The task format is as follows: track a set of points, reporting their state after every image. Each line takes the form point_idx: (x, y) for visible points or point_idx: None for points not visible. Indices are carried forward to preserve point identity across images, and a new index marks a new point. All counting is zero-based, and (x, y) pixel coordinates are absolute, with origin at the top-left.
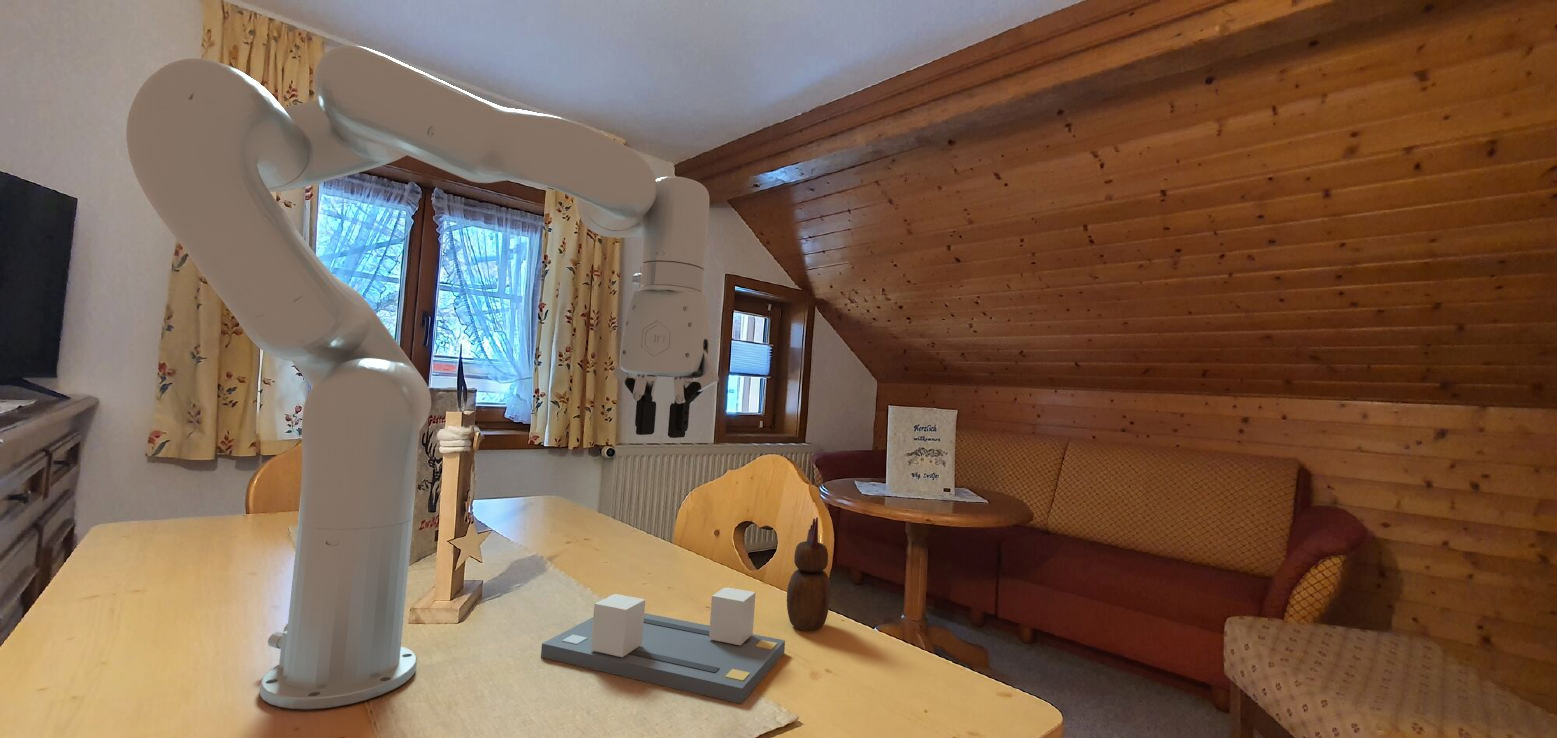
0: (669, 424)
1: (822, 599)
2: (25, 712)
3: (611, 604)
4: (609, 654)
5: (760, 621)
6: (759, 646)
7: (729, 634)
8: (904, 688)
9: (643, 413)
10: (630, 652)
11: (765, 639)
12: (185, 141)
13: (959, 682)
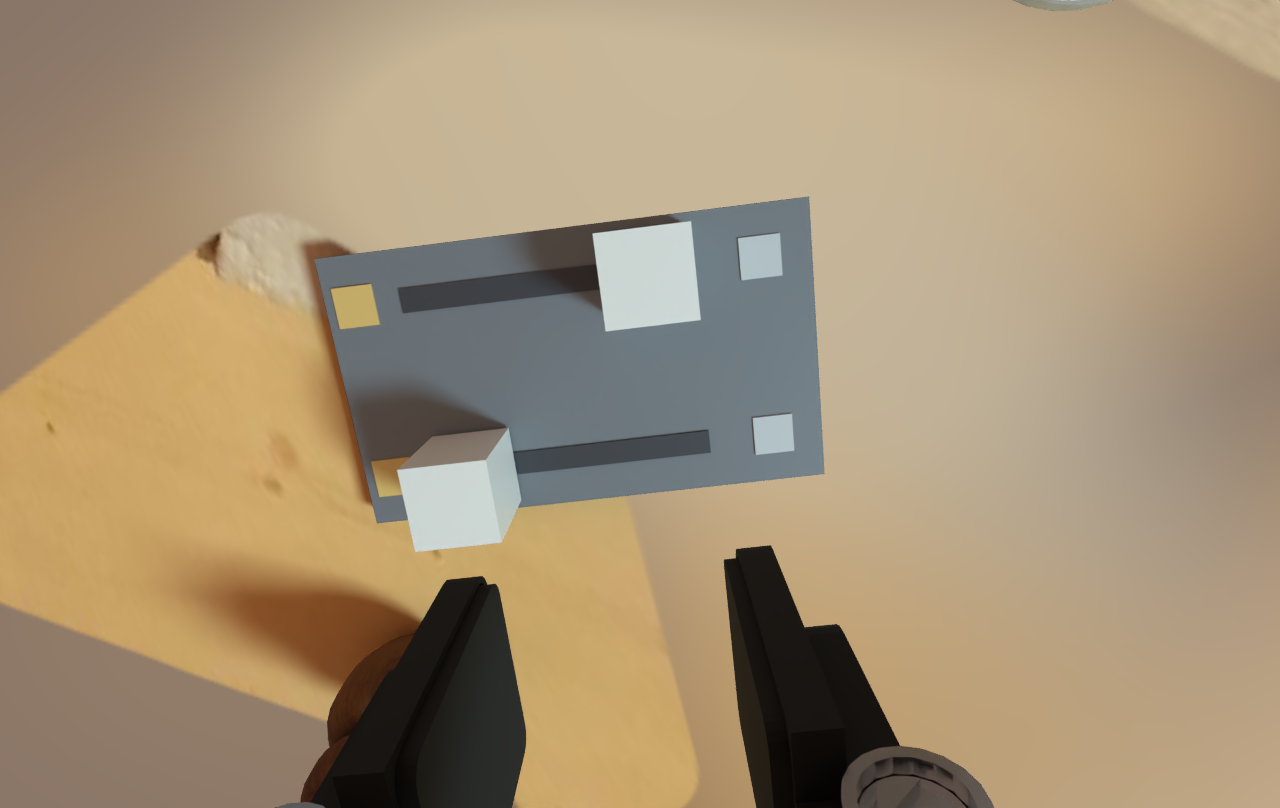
0: (461, 628)
1: (340, 689)
2: None
3: (649, 243)
4: None
5: (523, 637)
6: (399, 458)
7: (454, 439)
8: (120, 493)
9: (747, 657)
10: None
11: None
12: None
13: (52, 575)
